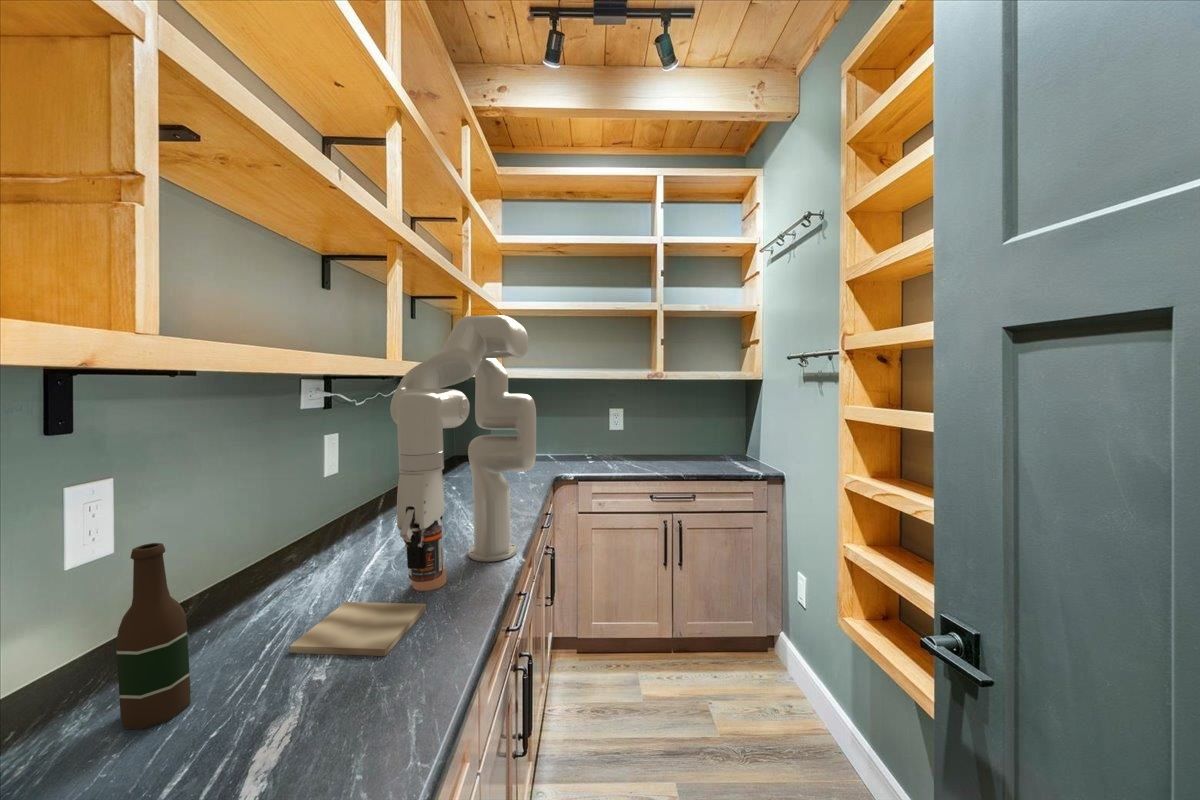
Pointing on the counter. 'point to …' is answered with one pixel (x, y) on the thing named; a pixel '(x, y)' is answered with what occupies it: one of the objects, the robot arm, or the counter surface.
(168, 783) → the counter surface
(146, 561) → the beer bottle
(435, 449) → the robot arm
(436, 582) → the pepper shaker
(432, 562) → the supplement bottle
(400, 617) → the birch board
